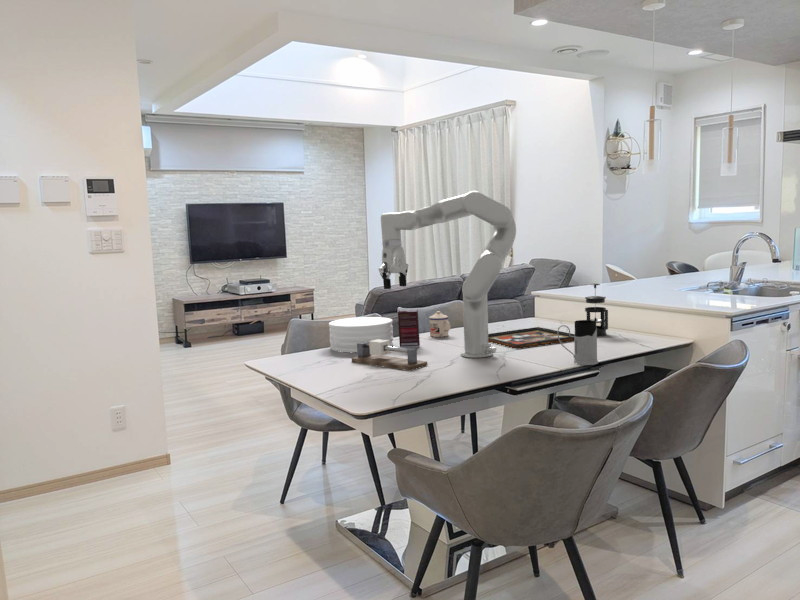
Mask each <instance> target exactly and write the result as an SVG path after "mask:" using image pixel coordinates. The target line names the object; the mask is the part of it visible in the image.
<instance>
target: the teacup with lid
mask: <svg viewBox="0 0 800 600" xmlns="http://www.w3.org/2000/svg"><path fill="white" fill-rule="evenodd" d="M428 320H429V335H430V337H432V336H433V338H445V337H448V336H449V332H450V330H451V323H450V322H449V316H448V315H446V314H443V313H442V312H441V311H440V310H438V311H436V312H435V313H434V314H432V315H430V316H429V318H428ZM444 336H445V337H444Z"/></svg>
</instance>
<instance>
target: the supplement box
mask: <svg viewBox="0 0 800 600" xmlns="http://www.w3.org/2000/svg"><path fill="white" fill-rule="evenodd" d="M397 319H398V321H397V322H398V336H399V338H398V341H399V347H400V348H408V349H411V348H416V349H417V348H418V347H419V348H420V346H421V344H420V343H421V342H420V341H421V340H420V328H419V327H420V325H419V324H420V323H419V310H418V309H415V310H414V309H413V310H412V309H411V310H398V312H397Z"/></svg>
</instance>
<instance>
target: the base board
mask: <svg viewBox="0 0 800 600" xmlns="http://www.w3.org/2000/svg"><path fill="white" fill-rule="evenodd" d="M351 362H352V363H355V362H357V363H356V364H362V363H364V364H363V365H369V364H371V365H370V366H375V365H377V367H382V366H384V367H383V368H389V367H390V368H391V369H395V368H397V369H398V370H402V369H405V370H404V371H409V370H411V371H413V370H412V369H414V370H417V369H420V368H419V367H421V368H423V367H422V366H424V367H427V366H428V361H426V360H419V359H417V363H414V364H408V358H403V357H396V356H388V355H374V354H371V356H368V357H364V358H361V357H358V356H355V357H351ZM426 365H427V366H426ZM416 368H417V369H416Z"/></svg>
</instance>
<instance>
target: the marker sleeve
mask: <svg viewBox="0 0 800 600" xmlns="http://www.w3.org/2000/svg"><path fill="white" fill-rule="evenodd" d="M369 344H370V354H374V355H382V356H386V355H388V354H391V351H389V350H384V348H383V346H390V340H381V339H377V340H372V341H369Z"/></svg>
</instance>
